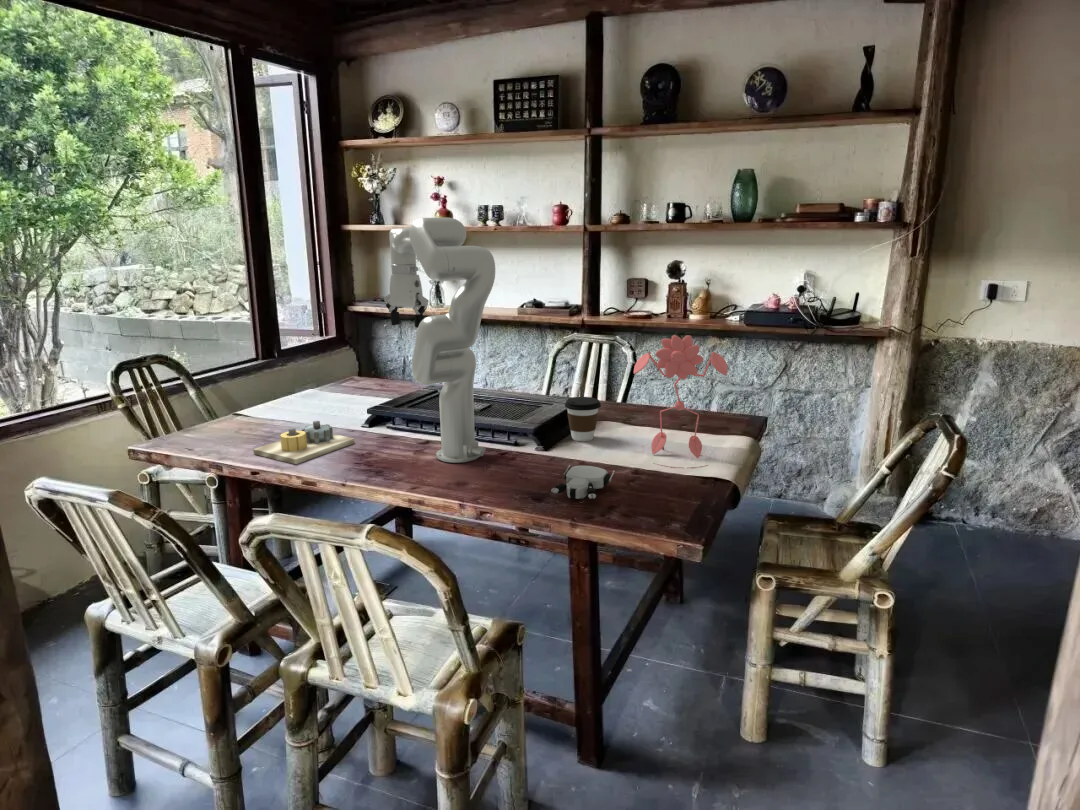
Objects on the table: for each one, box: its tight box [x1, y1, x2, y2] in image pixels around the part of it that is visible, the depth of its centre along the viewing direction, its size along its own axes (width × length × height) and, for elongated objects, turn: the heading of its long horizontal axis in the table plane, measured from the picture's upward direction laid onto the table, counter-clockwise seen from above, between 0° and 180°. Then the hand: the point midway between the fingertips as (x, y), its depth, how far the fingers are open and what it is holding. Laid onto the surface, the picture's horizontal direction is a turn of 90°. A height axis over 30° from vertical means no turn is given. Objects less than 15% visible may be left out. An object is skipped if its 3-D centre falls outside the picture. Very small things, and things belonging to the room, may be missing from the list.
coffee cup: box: [564, 396, 602, 442], centre depth 212 cm, size 11×11×12 cm
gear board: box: [252, 420, 356, 465], centre depth 205 cm, size 18×22×7 cm
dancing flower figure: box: [633, 334, 728, 469], centre depth 190 cm, size 15×26×35 cm, turn 68°
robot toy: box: [551, 464, 615, 500], centre depth 171 cm, size 12×4×15 cm
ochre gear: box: [279, 430, 307, 451], centre depth 202 cm, size 7×7×4 cm
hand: (407, 325), depth 217 cm, fingers open, 9 cm apart
